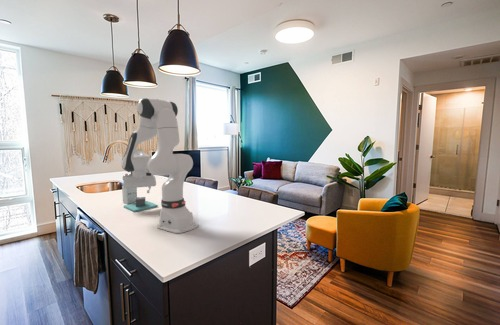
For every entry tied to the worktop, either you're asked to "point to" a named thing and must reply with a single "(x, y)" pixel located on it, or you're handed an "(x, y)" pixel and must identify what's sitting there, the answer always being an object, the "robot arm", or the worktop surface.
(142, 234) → the worktop surface
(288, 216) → the worktop surface
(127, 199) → the supplement box
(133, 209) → the board
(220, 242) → the worktop surface
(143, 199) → the knob
